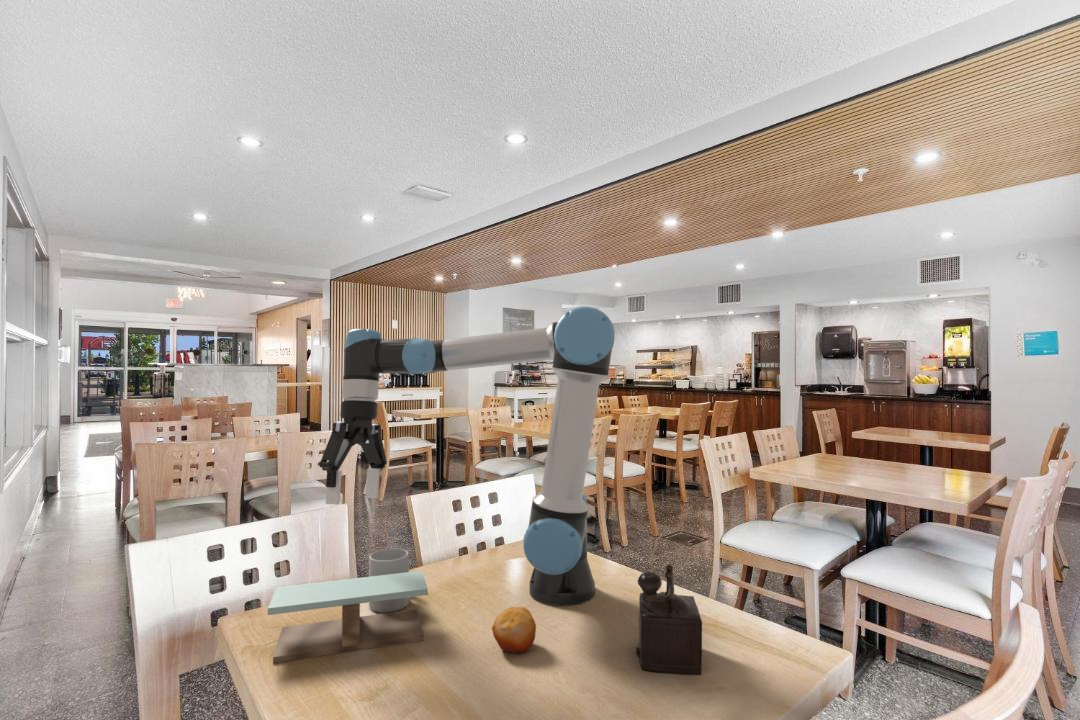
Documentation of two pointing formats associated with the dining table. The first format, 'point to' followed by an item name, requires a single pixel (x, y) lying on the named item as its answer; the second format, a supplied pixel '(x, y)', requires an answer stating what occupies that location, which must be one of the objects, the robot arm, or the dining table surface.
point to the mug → (385, 565)
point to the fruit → (514, 630)
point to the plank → (347, 592)
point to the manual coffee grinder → (668, 628)
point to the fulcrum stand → (347, 634)
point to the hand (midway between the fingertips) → (353, 501)
